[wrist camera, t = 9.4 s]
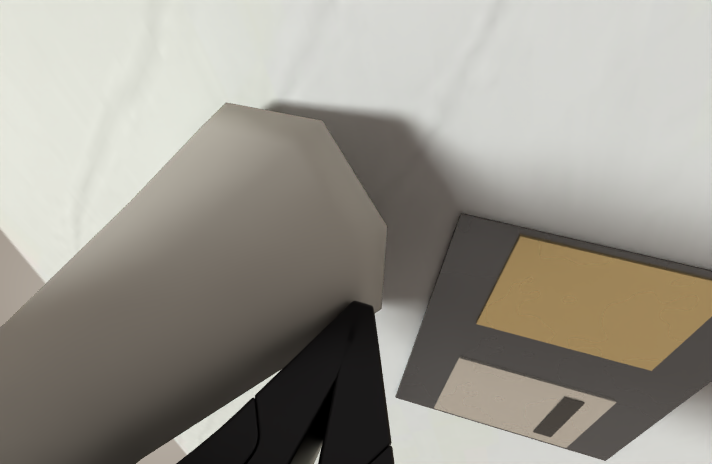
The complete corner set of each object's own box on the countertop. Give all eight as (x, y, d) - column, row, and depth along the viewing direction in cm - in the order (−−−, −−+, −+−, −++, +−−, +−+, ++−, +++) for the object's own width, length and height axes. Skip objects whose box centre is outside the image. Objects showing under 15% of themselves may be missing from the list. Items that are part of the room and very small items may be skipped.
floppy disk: (604, 458, 15) (606, 464, 15) (395, 395, 16) (395, 400, 16) (819, 295, 9) (825, 301, 9) (461, 213, 10) (461, 216, 10)
